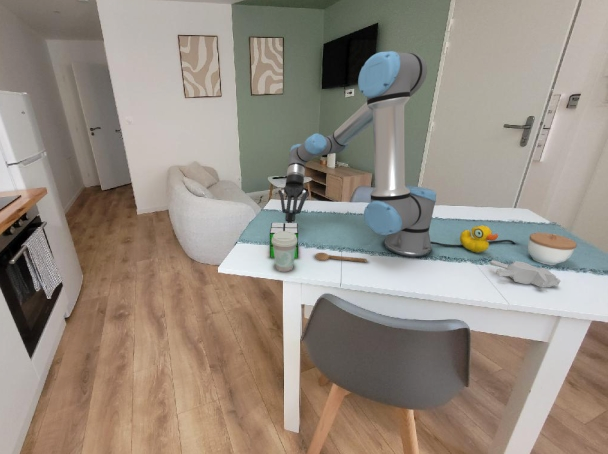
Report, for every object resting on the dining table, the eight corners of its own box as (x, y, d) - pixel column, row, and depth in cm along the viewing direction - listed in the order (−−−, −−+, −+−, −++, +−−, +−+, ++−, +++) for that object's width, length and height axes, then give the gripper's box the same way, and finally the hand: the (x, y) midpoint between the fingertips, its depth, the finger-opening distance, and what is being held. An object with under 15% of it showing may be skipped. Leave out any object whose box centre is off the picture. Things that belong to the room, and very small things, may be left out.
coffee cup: (266, 268, 99) (266, 236, 95) (281, 258, 105) (281, 228, 100) (287, 276, 94) (287, 243, 89) (301, 266, 100) (302, 234, 95)
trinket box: (558, 255, 98) (569, 230, 95) (574, 271, 89) (587, 244, 86) (517, 250, 103) (526, 226, 99) (529, 265, 94) (539, 239, 90)
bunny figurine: (569, 281, 78) (503, 267, 83) (559, 296, 80) (495, 282, 85) (551, 264, 86) (491, 252, 91) (542, 278, 88) (484, 266, 93)
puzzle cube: (297, 246, 114) (297, 222, 110) (297, 258, 105) (298, 233, 101) (271, 245, 115) (271, 222, 111) (270, 258, 106) (269, 233, 102)
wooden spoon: (366, 259, 102) (366, 256, 102) (367, 265, 98) (367, 262, 98) (316, 254, 107) (316, 251, 107) (315, 260, 103) (315, 257, 103)
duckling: (496, 257, 99) (505, 230, 95) (484, 259, 98) (493, 232, 94) (464, 243, 109) (471, 218, 106) (453, 245, 108) (460, 221, 104)
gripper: (310, 182, 126) (305, 232, 118) (281, 181, 130) (274, 230, 122) (310, 173, 120) (304, 225, 111) (279, 172, 123) (271, 223, 115)
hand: (288, 228), depth 117 cm, fingers closed
